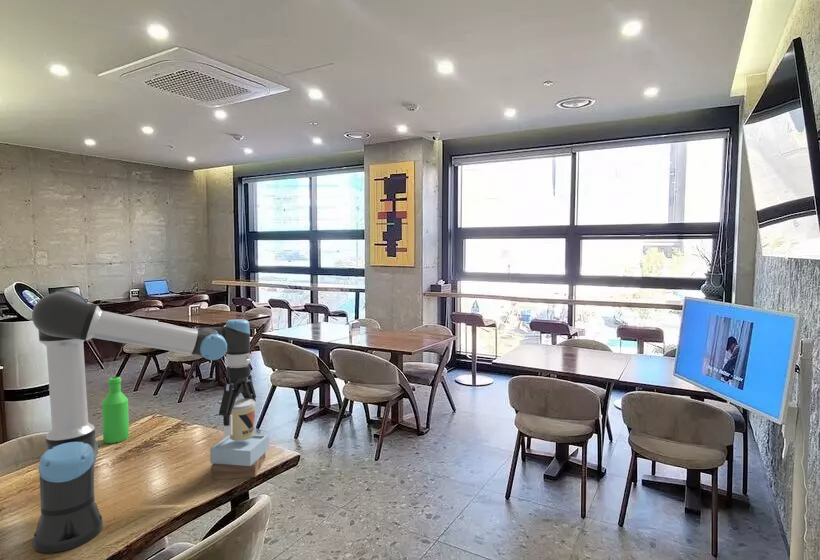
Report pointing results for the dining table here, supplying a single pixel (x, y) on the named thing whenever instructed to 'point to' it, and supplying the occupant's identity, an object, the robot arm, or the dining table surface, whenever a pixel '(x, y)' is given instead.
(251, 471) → the block bottom
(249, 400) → the coffee cup
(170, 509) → the dining table surface
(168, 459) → the dining table surface
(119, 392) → the bottle
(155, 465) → the dining table surface
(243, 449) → the block top
